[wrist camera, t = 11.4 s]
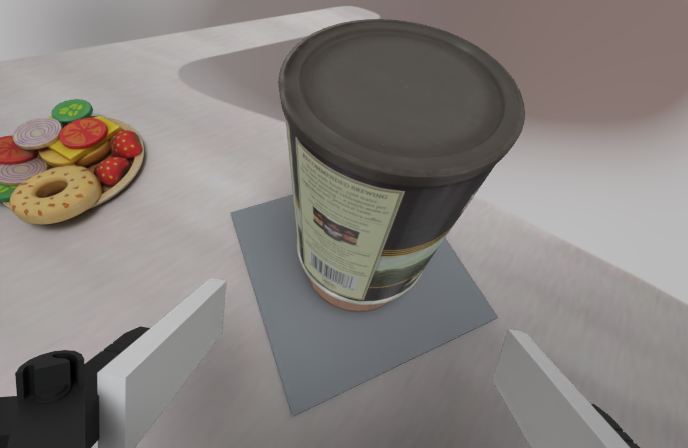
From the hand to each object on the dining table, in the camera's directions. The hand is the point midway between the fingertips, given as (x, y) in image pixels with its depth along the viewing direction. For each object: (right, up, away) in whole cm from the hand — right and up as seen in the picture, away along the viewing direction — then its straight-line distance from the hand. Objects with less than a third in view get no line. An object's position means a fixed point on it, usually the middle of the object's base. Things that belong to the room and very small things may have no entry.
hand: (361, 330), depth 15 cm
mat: (0, +1, +14) cm, 15 cm away
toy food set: (-28, +10, +18) cm, 35 cm away
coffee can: (+1, +3, +11) cm, 11 cm away
